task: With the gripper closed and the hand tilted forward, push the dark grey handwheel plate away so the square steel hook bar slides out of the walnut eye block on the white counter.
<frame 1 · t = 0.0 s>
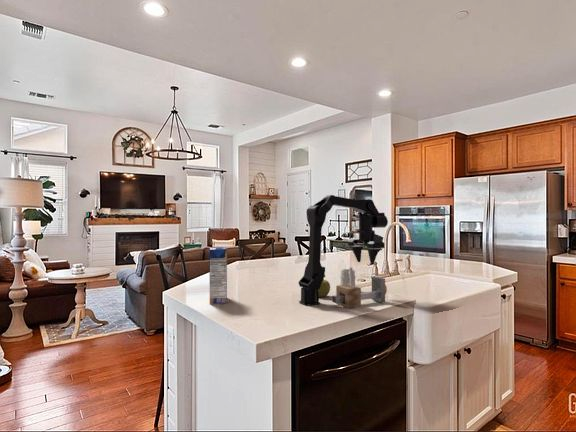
hand: (365, 263, 157), 15 cm above the countertop, tool pointing down, fingers open, 9 cm apart
apple: (321, 296, 157), on the countertop
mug: (348, 292, 168), on the countertop
eye block: (348, 305, 141), on the countertop
hook rod: (359, 291, 143), point 5 cm above the countertop, slide at 0.0 cm
beverage box: (218, 301, 149), on the countertop
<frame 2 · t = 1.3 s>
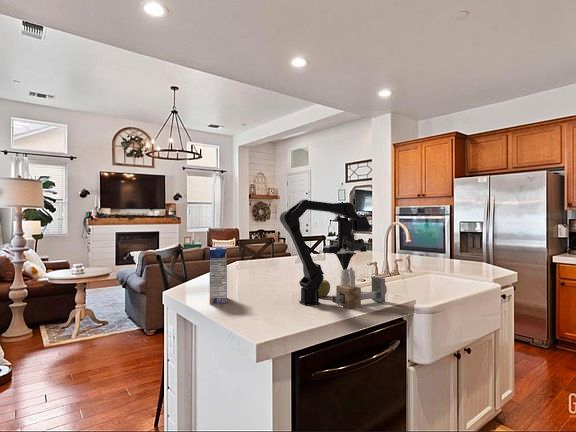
hand: (345, 269, 150), 13 cm above the countertop, tool pointing down, fingers closed
nothing on the countertop moved.
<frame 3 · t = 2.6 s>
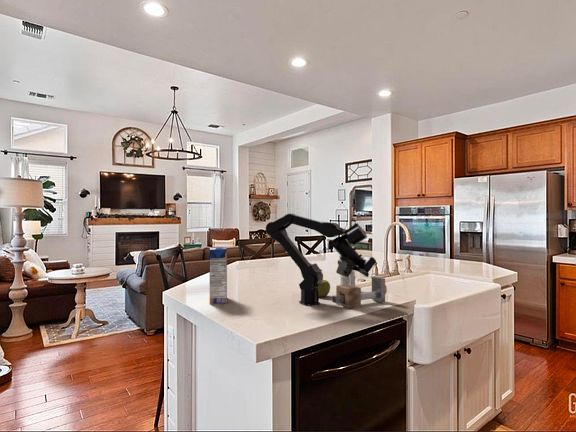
hand: (367, 276, 145), 11 cm above the countertop, tool tilted 45°, fingers closed
nothing on the countertop moved.
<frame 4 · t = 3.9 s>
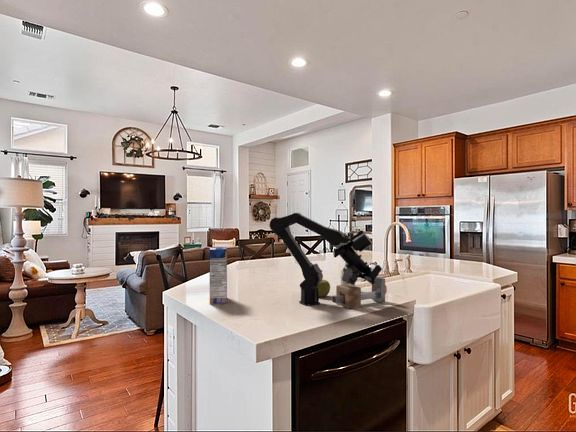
hand: (373, 283, 145), 8 cm above the countertop, tool tilted 45°, fingers closed
nothing on the countertop moved.
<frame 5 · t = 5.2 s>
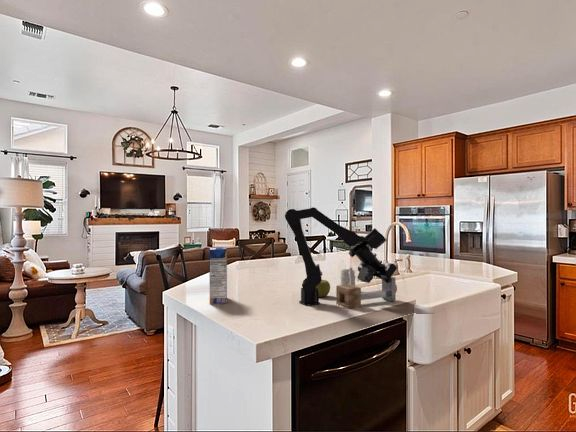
hand: (387, 281, 148), 8 cm above the countertop, tool tilted 45°, fingers closed
hook rod: (369, 290, 145), point 5 cm above the countertop, slide at 5.5 cm, touching gripper
everything else where it was.
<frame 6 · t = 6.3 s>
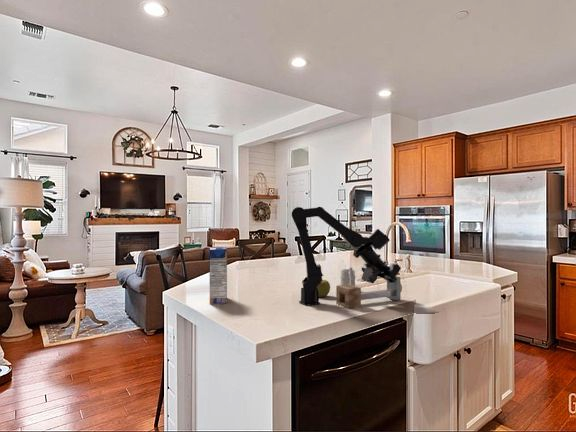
hand: (391, 282, 150), 8 cm above the countertop, tool tilted 45°, fingers closed, pressing on hook rod
hook rod: (375, 289, 147), point 5 cm above the countertop, slide at 8.2 cm, touching gripper
everything else where it was.
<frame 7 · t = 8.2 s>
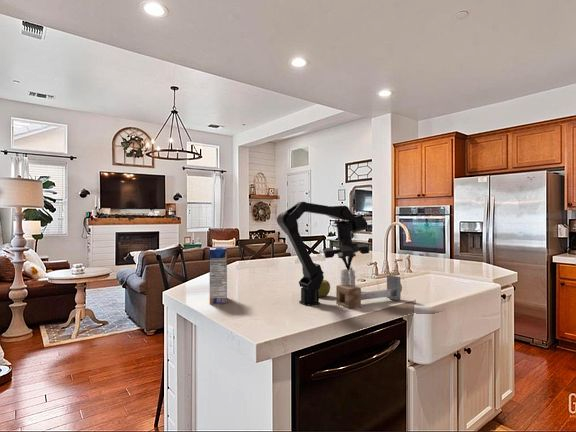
hand: (348, 269, 154), 12 cm above the countertop, tool pointing down, fingers closed
hook rod: (375, 289, 147), point 5 cm above the countertop, slide at 8.2 cm
everything else where it was.
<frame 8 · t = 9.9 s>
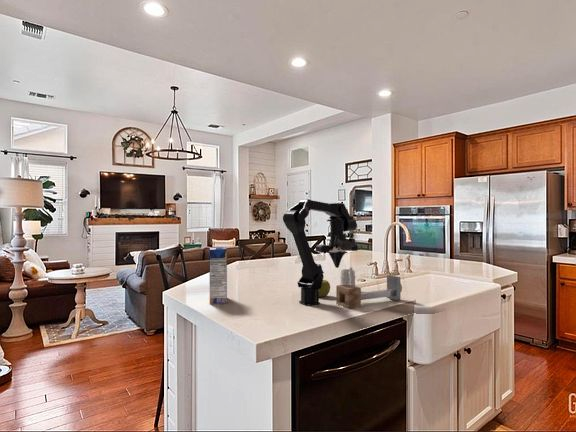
hand: (337, 267, 155), 13 cm above the countertop, tool pointing down, fingers closed
nothing on the countertop moved.
at the end: hook rod slide at 8.2 cm; the gripper is holding nothing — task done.
